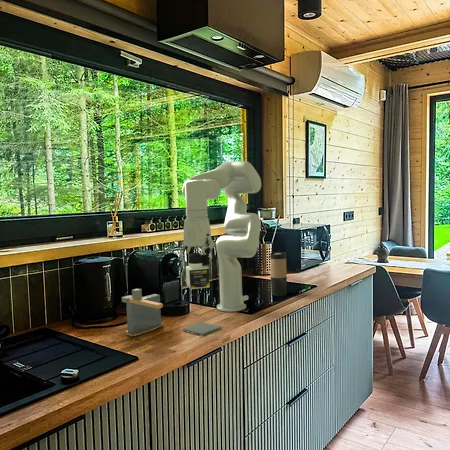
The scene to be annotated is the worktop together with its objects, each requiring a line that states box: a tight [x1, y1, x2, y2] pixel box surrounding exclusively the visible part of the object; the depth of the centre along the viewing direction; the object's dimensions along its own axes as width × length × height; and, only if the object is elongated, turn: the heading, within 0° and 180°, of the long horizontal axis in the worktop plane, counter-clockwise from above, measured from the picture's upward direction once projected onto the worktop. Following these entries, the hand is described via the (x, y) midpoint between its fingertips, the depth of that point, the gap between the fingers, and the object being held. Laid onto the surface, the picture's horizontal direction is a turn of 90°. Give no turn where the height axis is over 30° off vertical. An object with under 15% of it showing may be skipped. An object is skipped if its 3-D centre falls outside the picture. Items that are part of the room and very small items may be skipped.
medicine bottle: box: [185, 252, 211, 290], centre depth 153 cm, size 7×7×12 cm
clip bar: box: [121, 288, 164, 309], centre depth 145 cm, size 4×19×5 cm, turn 49°
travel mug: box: [269, 251, 288, 297], centre depth 204 cm, size 8×8×20 cm
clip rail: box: [125, 293, 164, 335], centre depth 156 cm, size 14×4×12 cm, turn 139°
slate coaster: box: [182, 321, 222, 337], centre depth 155 cm, size 10×10×1 cm
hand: (199, 264), depth 153 cm, fingers closed on medicine bottle, 6 cm apart
